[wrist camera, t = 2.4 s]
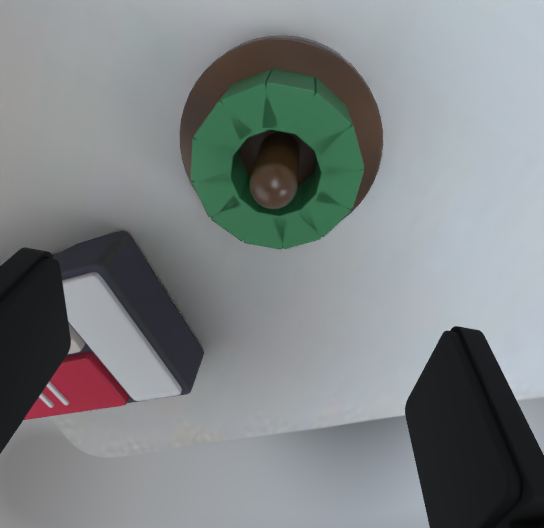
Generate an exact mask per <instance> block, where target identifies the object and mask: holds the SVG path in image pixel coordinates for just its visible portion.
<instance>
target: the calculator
mask: <svg viewBox="0 0 544 528" xmlns="http://www.w3.org/2000/svg"><path fill="white" fill-rule="evenodd" d="M53 258H54V259H56V260H58V261H59V263H60V269H61V275H62V282H63V289H64V296H65V303H66V310H67V316H68V323H69V330H70V337H71V346H70V350H69V352H68V354H67V356H66V358H65V359H64V361H63V362H62V364H61V365H60V367H59V368H58V369H57V371H56V372H55V374H54V375H53V377H52V378H51V380H50V381H49V383H48V384H47V386H46V387H45V389H44V390H43V392H42V393H41V395H40V396H39V397H38V399H37V400H36V402H35V403H34V405H33V406H32V408H31V409H30V411H29V412H28V414H27V415H26V417H25V418H24V420H26V419H33V418H41V417H47V416H54V415H61V414H68V413H75V412H82V411H89V410H95V409H102V408H109V407H116V406H122V405H126V404H127V403H131V402H138V401H144V400H151V399H158V398H165V397H171V396H178V395H185V394H189V393H190V392H191V389H192V387H193V384H194V381H195V378H196V375H197V372H198V369H199V367H200V364H201V361H202V358H203V355H204V352H203V350H202V348H201V346H200V345H199V343H198V342H197V340H196V338H195V337H194V335H193V334H192V332H191V331H190V329H189V327H188V326H187V324H186V323H185V321H184V320H183V318H182V316H181V315H180V313H179V312H178V310H177V308H176V307H175V305H174V304H173V302H172V301H171V299H170V297H169V296H168V294H167V293H166V291H165V290H164V288H163V286H162V285H161V283H160V282H159V280H158V279H157V277H156V275H155V274H154V272H153V271H152V269H151V267H150V266H149V264H148V263H147V261H146V260H145V258H144V256H143V255H142V253H141V252H140V250H139V249H138V247H137V245H136V244H135V242H134V241H133V239H132V237H131V236H130V235H129V234H128V233H127V232H124V231H120V232H116V233H113V234H109V235H106V236H103V237H99V238H96V239H93V240H89V241H86V242H83V243H79V244H77V245H75V246H73V247H71V248H69V249H67V250H65V251H63V252H61V253H58V254H55V255H53Z"/></svg>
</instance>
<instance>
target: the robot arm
mask: <svg viewBox="0 0 544 528" xmlns="http://www.w3.org/2000/svg"><path fill="white" fill-rule="evenodd" d="M70 346H71V337H70V330H69V323H68V316H67V310H66V303H65V296H64V289H63V282H62V275H61V269H60V263H59V261H58V260H56V259H54V258H53V255H52V254H51V253H50V252H46V251H41V250H35V249H30V248H22V249H20V250H19V251H18V252H16V253H15V254H14V255H13V256H12V257H11V258H10V259H8V260H7V261H6V262H5V263H4V264H3V265H2V266H0V453H1V452H2V450H3V449H4V448H5V446H6V445H7V443H8V442H9V440H10V439H11V437H12V436H13V434H14V433H15V431H16V430H17V428H18V427H19V425H20V424H21V423H22V421H23V420H24V418H25V417H26V415H27V414H28V412H29V411H30V409H31V408H32V406H33V405H34V403H35V402H36V400H37V399H38V397H39V396H40V395H41V393H42V392H43V390H44V389H45V387H46V386H47V384H48V383H49V381H50V380H51V378H52V377H53V375H54V374H55V372H56V371H57V369H58V368H59V367H60V365H61V364H62V362H63V361H64V359H65V358H66V356H67V354H68V352H69V350H70ZM405 415H406V420H407V425H408V429H409V434H410V438H411V443H412V447H413V452H414V457H415V461H416V466H417V470H418V475H419V479H420V484H421V489H422V493H423V498H424V502H425V507H426V512H427V516H428V521H429V526H430V528H544V455H543V453H542V451H541V449H540V447H539V445H538V443H537V441H536V439H535V437H534V435H533V433H532V431H531V429H530V427H529V425H528V423H527V421H526V419H525V417H524V415H523V413H522V411H521V409H520V407H519V405H518V403H517V401H516V399H515V397H514V395H513V393H512V391H511V389H510V387H509V385H508V383H507V380H506V378H505V376H504V374H503V372H502V370H501V368H500V366H499V364H498V362H497V360H496V358H495V356H494V354H493V352H492V350H491V348H490V346H489V344H488V342H487V340H486V338H485V336H484V335H483V333H482V332H481V331H479V330H474V329H469V328H463V327H458V326H456V327H453V328H452V329H451V330H450V331H445V332H444V333H443V334H442V336H441V338H440V340H439V342H438V344H437V345H436V347H435V349H434V351H433V353H432V355H431V357H430V358H429V360H428V362H427V364H426V366H425V368H424V370H423V372H422V373H421V375H420V377H419V379H418V381H417V383H416V385H415V387H414V388H413V390H412V392H411V394H410V396H409V398H408V400H407V402H406V407H405Z"/></svg>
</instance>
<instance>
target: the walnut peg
mask: <svg viewBox="0 0 544 528" xmlns="http://www.w3.org/2000/svg"><path fill="white" fill-rule="evenodd" d="M269 69H271V71H272V69H278V70H284V71H289V72H294V73H299V74H305V75H310V76H314V79H315V78H318V79H319V80H320V81H321V82H322V83H323V84H324V85H325V86H326V87H327V88H328V89H329V90H330V91H332V92H333V93H334V94H335V95H336V96H337V97H338V98H339V99H340V100H341V101H342V102H343V103H344V104H345V105H346V106H347V108H348V110H349V113H350V116H351V120H352V123H353V126H354V130H355V134H356V137H357V141H358V145H359V149H360V152H361V156H362V160H363V164H364V168H363V169H364V173H363V177H362V180H361V183H360V187H359V190H358V193H357V196H356V200H355V203H354V206H353V208H352V209H351V212H352V211H353V210H354V209H355V208H356V207H357V206H358V205H359V204H360V203H361V201H362V200H363V198H364V197H365V196H366V194H367V193H368V191H369V189H370V188H371V186H372V184H373V182H374V180H375V177H376V175H377V172H378V169H379V165H380V161H381V157H382V149H383V129H382V123H381V117H380V114H379V110H378V107H377V104H376V102H375V99H374V97H373V95H372V93H371V91H370V89H369V87H368V86H367V84H366V83H365V81H364V80H363V78H362V76H361V75H360V74H359V73H358V71H357V70H356V69H355V68H354V67H353V66H352V65H351V64H350V63H349V62H348V61H347V60H346V59H344V58H343V57H342V56H341V55H340V54H338V53H336V52H335V51H333V50H332V49H330V48H328V47H327V46H324V45H322V44H320V43H317V42H315V41H312V40H308V39H305V38H301V37H294V36H268V37H263V38H257V39H254V40H251V41H248V42H245V43H242V44H240V45H239V46H237V47H235V48H233V49H231V50H229V51H228V52H226V53H225V54H224V55H222V56H221V57H220V58H218V59H217V60H216V61H215V62H214V63H213V64H212V65H210V66H209V67H208V68H207V69H206V70H205V71H204V73H203V74H202V75H201V77H200V78H199V79H198V80H197V82H196V83H195V85H194V87H193V89H192V90H191V92H190V94H189V96H188V99H187V102H186V104H185V107H184V110H183V115H182V119H181V127H180V148H181V154H182V160H183V163H184V167H185V170H186V173H187V175H188V177H189V180H190V182H191V184H192V180H191V179H190V176H191V157H192V139H193V138H194V135H195V133H196V132H197V130H198V129H199V128H200V126H201V125H202V123H203V122H204V120H205V119H206V118H207V116H208V115H209V113H210V112H211V111H212V109H213V108H214V106H215V105H216V104H217V102H218V101H219V100H220V98H221V97H222V96H223V94H224V93H225V92H226V91H227V89H228V88H229V87H230V86H232V85H233V84H234V83H236V82H239V81H241V80H244V79H246V78H249V77H251V76H254V75H256V74H259V73H261V72H264V71H266V70H269ZM240 157H241V159H242V161H243V164H244V166H245V168H246V171H247V173H248V175H250V176H251V178H250V184H249V185H250V192H251V194H252V196H253V198H254V200H255V201H256V202H257V203H258V204H259V205H261V206H263V207H265V208H268V209H279V208H282V207H285V206H286V205H288V204H289V203H290V202H291V201H292V200H293V198H294V197H295V195H296V192H297V188H298V185H300V184H302V183H303V182H304V181H305V180H306V179H307V178H308V177H309V176H310V175H311V174H312V172H313V171H314V170H315V168H316V164H317V159H316V156H315V153H314V150H313V149H312V148H311V147H309V146H308V145H307V144H306V143H305V142H304V141H302V140H301V139H300V138H299V137H298V136H297V135H295V134H291V133H286V132H280V131H275V130H268V131H266V132H263V133H260V134H257V135H254V136H252V137H249V138H248V139H247V140H246V141H245V142H244V144H243V145H242V146H241V154H240ZM192 186H193V185H192ZM195 191H196V190H195ZM351 212H350V213H351ZM350 213H349V214H350ZM349 214H348V215H349ZM344 218H345V217H344ZM344 218H343V219H344ZM343 219H342V220H343Z"/></svg>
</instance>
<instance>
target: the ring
mask: <svg viewBox="0 0 544 528" xmlns="http://www.w3.org/2000/svg"><path fill="white" fill-rule="evenodd" d="M268 130H275V131H280V132H286V133H291V134H295V135H297V136H298V137H299V138H300V139H301V140H302V141H304V142H305V143H306V144H307V145H308V146H309V147H311V148H312V149H313V150H314V153H315V156H316V159H317V164H316V168H315V170H314V171H313V172H312V174H311V175H310V176H309V177H308V178H307V179H306V180H305V181H304V182H303V183H302V184H300V185H298V188H297V192H296V195H295V197H294V198H293V200H292V201H291V202H290V203H289V204H288V205H286V206H285V207H282V208H279V209H268V208H265V207H263V206H261V205H259V204H258V203H257V202H256V201H255V200H254V198H253V196H252V194H251V192H250V185H249V184H250V178H251V176H250V175H248V173H247V171H246V168H245V166H244V164H243V161H242V159H241V157H240V154H241V146H242V145H243V144H244V142H245V141H246V140H247V139H248V138H249V137H252V136H254V135H257V134H260V133H263V132H266V131H268ZM363 168H364V164H363V160H362V156H361V152H360V149H359V145H358V141H357V137H356V134H355V130H354V126H353V123H352V120H351V116H350V113H349V110H348V108H347V106H346V105H345V104H344V103H343V102H342V101H341V100H340V99H339V98H338V97H337V96H336V95H335V94H334V93H333V92H332V91H330V90H329V89H328V88H327V87H326V86H325V85H324V84H323V83H322V82H321V81H320V80H319V79H318V78H315V79H314V76H310V75H305V74H299V73H294V72H289V71H284V70H278V69H272V71H271V69H269V70H266V71H264V72H261V73H259V74H256V75H254V76H251V77H249V78H246V79H244V80H241V81H239V82H236V83H234V84H233V85H232V86H230V87H229V88H228V89H227V91H226V92H225V93H224V94H223V96H222V97H221V98H220V100H219V101H218V102H217V104H216V105H215V106H214V108H213V109H212V111H211V112H210V113H209V115H208V116H207V118H206V119H205V120H204V122H203V123H202V125H201V126H200V128H199V129H198V130H197V132H196V133H195V135H194V138H193V139H192V157H191V176H190V179H191V180H192V185H193V187H194V189H195V190H196V192H197V194H198V196H199V198H200V200H201V202H202V204H203V206H204V208H205V210H206V212H207V214H208V216H209V217H211V219H212V220H213V221H214V222H215V223H217V224H218V225H220V226H221V227H222V228H224V229H225V230H227V231H228V232H229V233H231V234H232V235H234V236H235V237H236V238H238V239H239V240H240V241H243V240H244V243H248V244H254V245H259V246H265V247H270V248H276V249H282V248H284V249H287V248H291V247H294V246H298V245H301V244H305V243H308V242H312V241H316V240H319V239H321V237H324V236H325V235H326V234H327V233H328V232H330V231H331V230H332V229H333V228H334V227H335V226H336V225H337V224H338V223H339V222H340V221H341V220H342V219H343V218H344V217H346V216H347V215H348V214H349V213H350V212H351V209H352V208H353V206H354V203H355V200H356V196H357V193H358V190H359V187H360V183H361V180H362V177H363V173H364V169H363Z"/></svg>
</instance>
